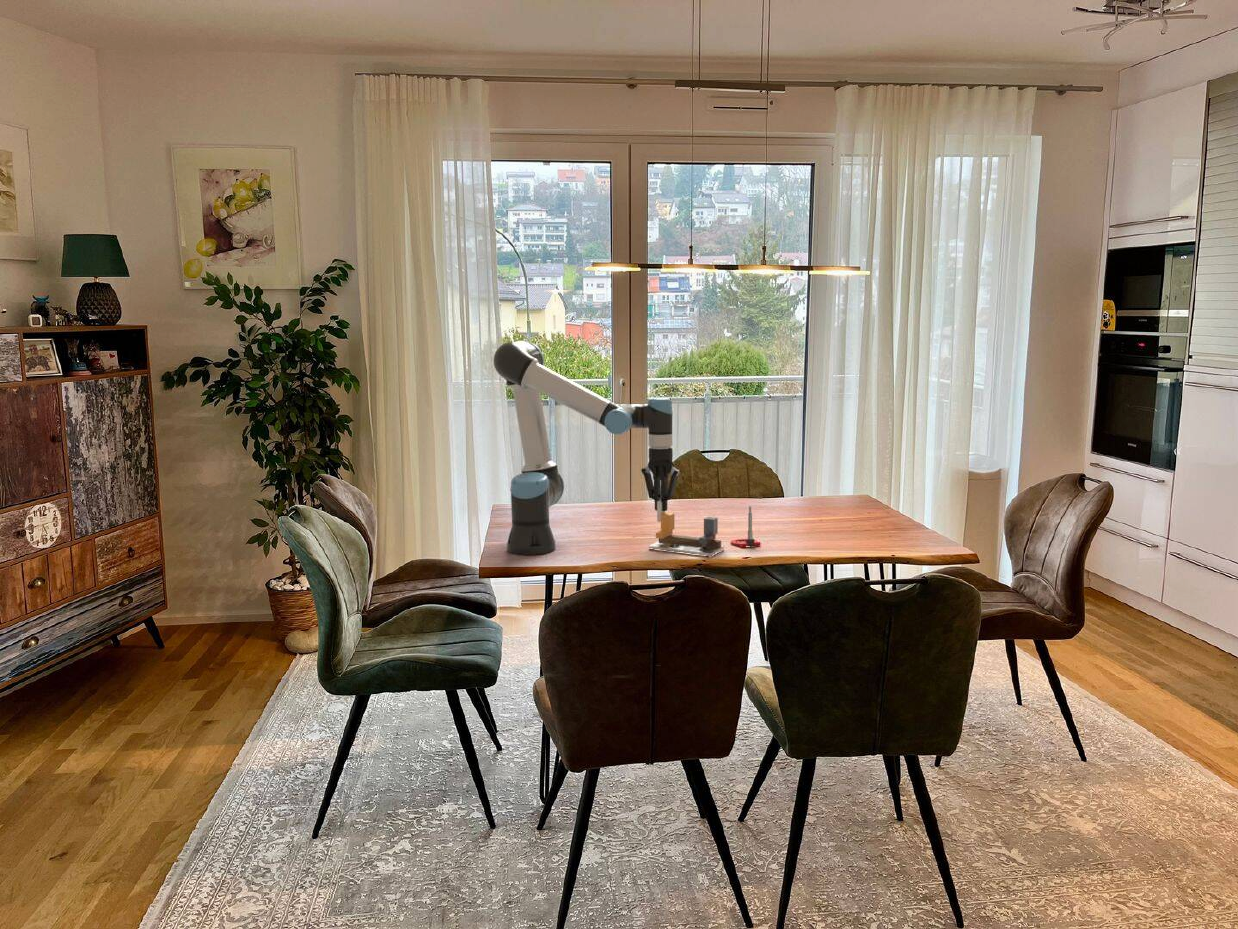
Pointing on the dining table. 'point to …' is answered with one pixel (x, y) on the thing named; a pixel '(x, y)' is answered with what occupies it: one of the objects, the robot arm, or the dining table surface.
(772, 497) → the dining table surface
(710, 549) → the bolt plate
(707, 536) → the fixed leg
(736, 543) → the tow hook
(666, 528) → the orange toy chair
